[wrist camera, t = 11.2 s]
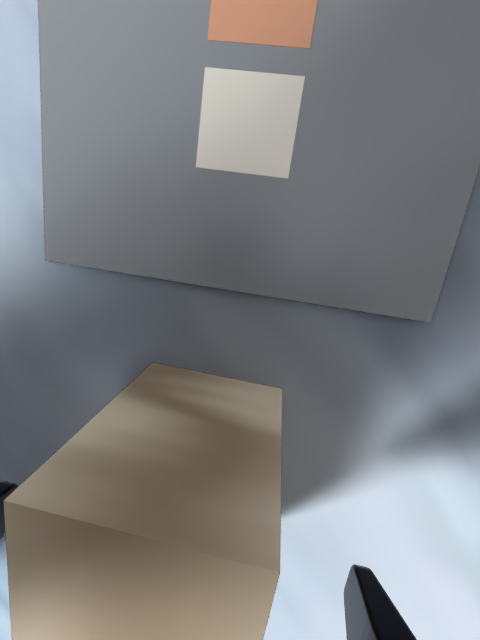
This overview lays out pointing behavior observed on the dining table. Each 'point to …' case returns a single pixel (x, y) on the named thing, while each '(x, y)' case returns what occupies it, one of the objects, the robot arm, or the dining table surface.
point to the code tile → (263, 144)
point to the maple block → (154, 517)
